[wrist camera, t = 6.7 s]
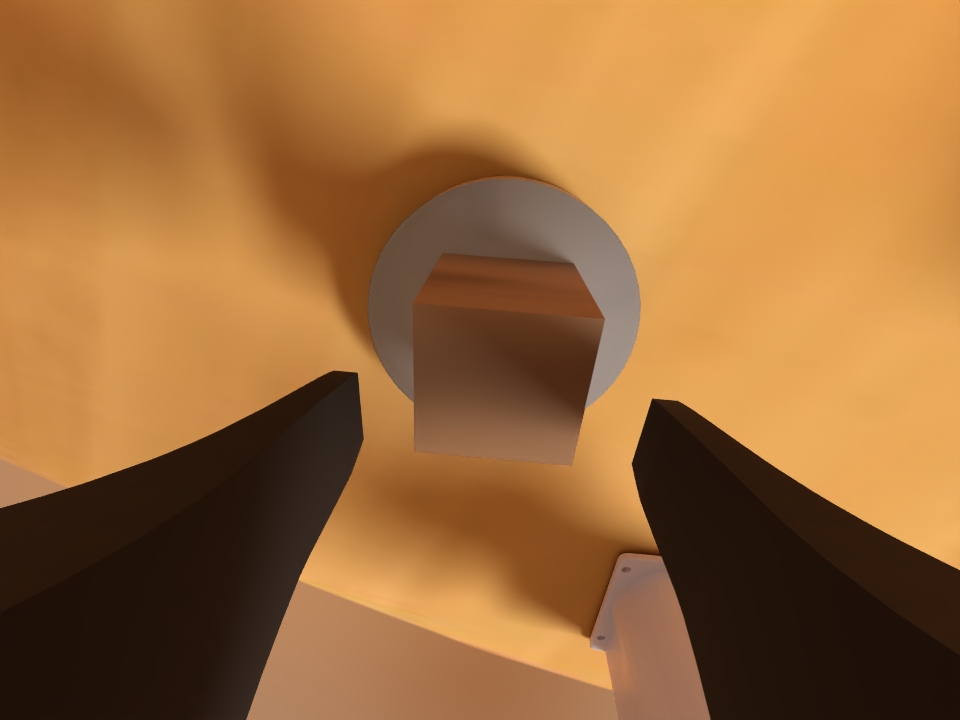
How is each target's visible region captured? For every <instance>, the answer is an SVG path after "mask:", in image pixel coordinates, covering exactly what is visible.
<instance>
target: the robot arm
mask: <svg viewBox="0 0 960 720" xmlns="http://www.w3.org/2000/svg"><path fill="white" fill-rule="evenodd" d="M362 442H363V428H362V416H361V405H360V394H359V382H358V373H354V372H343V371H331V372H329V373H327V374H325V375H323V376H321V377H319V378H317V379H315V380H314V381H312V382H310V383H308V384H306V385H305V386H303V387H301V388H299V389H297V390H296V391H294V392H292V393H290V394H288V395H287V396H285V397H283V398H281V399H279V400H278V401H276V402H274V403H272V404H270V405H269V406H267V407H265V408H263V409H261V410H259V411H257V412H255V413H253V414H251V415H249V416H247V417H245V418H243V419H241V420H239V421H237V422H235V423H233V424H231V425H229V426H227V427H225V428H223V429H222V430H220V431H217V432H215V433H213V434H211V435H209V436H207V437H204V438H202V439H200V440H198V441H195V442H193V443H191V444H188V445H186V446H184V447H181V448H179V449H176V450H174V451H172V452H169V453H167V454H164V455H162V456H159V457H157V458H154V459H152V460H149V461H146V462H143V463H140V464H138V465H135V466H132V467H129V468H126V469H124V470H121V471H118V472H115V473H112V474H109V475H107V476H104V477H101V478H98V479H95V480H92V481H90V482H87V483H84V484H81V485H77V486H74V487H71V488H68V489H65V490H61V491H58V492H55V493H52V494H48V495H45V496H42V497H38V498H35V499H31V500H28V501H25V502H21V503H18V504H14V505H10V506H7V507H3V508H0V720H246V718H247V716H248V713H249V710H250V707H251V704H252V701H253V699H254V695H255V693H256V690H257V687H258V684H259V681H260V679H261V675H262V673H263V670H264V668H265V665H266V662H267V659H268V657H269V654H270V651H271V649H272V646H273V644H274V641H275V638H276V636H277V633H278V630H279V628H280V625H281V622H282V620H283V617H284V615H285V612H286V610H287V607H288V605H289V602H290V600H291V597H292V594H293V592H294V590H295V587H296V584H297V582H298V580H299V577H300V575H301V573H302V571H303V568H304V566H305V564H306V562H307V560H308V558H309V556H310V554H311V552H312V550H313V548H314V546H315V544H316V542H317V540H318V538H319V536H320V534H321V532H322V530H323V528H324V526H325V525H326V523H327V521H328V519H329V517H330V515H331V513H332V511H333V509H334V507H335V505H336V503H337V501H338V499H339V497H340V495H341V493H342V491H343V489H344V487H345V485H346V484H347V481H348V479H349V477H350V475H351V473H352V470H353V468H354V465H355V462H356V460H357V457H358V454H359V451H360V448H361V445H362ZM632 467H633V472H634V476H635V481H636V485H637V489H638V493H639V498H640V501H641V504H642V507H643V510H644V512H645V515H646V518H647V520H648V523H649V526H650V528H651V531H652V534H653V536H654V539H655V541H656V544H657V547H658V549H659V552H660V554H661V556H655V555H645V554H634V553H624V554H621V555H620V556H619V557H618V559H617V562H616V565H615V568H614V571H613V574H612V577H611V580H610V583H609V585H608V588H607V591H606V594H605V597H604V600H603V603H602V606H601V608H600V611H599V614H598V617H597V620H596V623H595V626H594V629H593V632H592V634H591V637H590V647H591V648H592V649H594V650H601V651H605V652H606V657H607V662H608V667H609V672H610V677H611V682H612V688H613V692H614V698H615V703H616V708H617V713H618V718H619V720H960V570H958V569H956V568H954V567H952V566H950V565H948V564H946V563H944V562H942V561H940V560H938V559H936V558H934V557H932V556H930V555H928V554H926V553H924V552H922V551H920V550H918V549H916V548H914V547H912V546H910V545H908V544H906V543H904V542H902V541H900V540H898V539H896V538H894V537H892V536H891V535H889V534H887V533H885V532H883V531H881V530H879V529H877V528H876V527H874V526H872V525H870V524H868V523H867V522H865V521H863V520H861V519H859V518H858V517H856V516H854V515H852V514H851V513H849V512H847V511H845V510H844V509H842V508H840V507H838V506H837V505H835V504H833V503H831V502H830V501H828V500H826V499H825V498H823V497H821V496H820V495H818V494H816V493H815V492H813V491H811V490H810V489H808V488H807V487H805V486H803V485H802V484H800V483H799V482H797V481H796V480H794V479H793V478H791V477H789V476H788V475H786V474H785V473H783V472H782V471H780V470H778V469H777V468H775V467H774V466H773V465H771V464H770V463H768V462H767V461H765V460H764V459H762V458H761V457H759V456H758V455H756V454H755V453H753V452H752V451H750V450H749V449H748V448H746V447H745V446H743V445H742V444H740V443H739V442H738V441H736V440H735V439H733V438H732V437H731V436H729V435H728V434H726V433H725V432H724V431H722V430H721V429H719V428H718V427H717V426H715V425H714V424H712V423H711V422H709V421H708V420H707V419H705V418H704V417H702V416H701V415H699V414H698V413H696V412H695V411H694V410H692V409H690V408H689V407H687V406H686V405H684V404H682V403H681V402H679V401H673V400H661V399H652V401H651V404H650V407H649V411H648V414H647V417H646V420H645V423H644V427H643V430H642V433H641V436H640V439H639V442H638V446H637V449H636V452H635V455H634V458H633V462H632Z"/></svg>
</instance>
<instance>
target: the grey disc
mask: <svg viewBox="0 0 960 720" xmlns="http://www.w3.org/2000/svg"><path fill="white" fill-rule="evenodd" d="M442 253H450V254H463V255H475V256H488V257H500V258H512V259H525V260H537V261H550V262H562V263H574V264H575V266H576V268H577V270H578V272H579V273H580V275H581V277H582V279H583V280H584V282H585V284H586V286H587V288H588V289H589V291H590V293H591V295H592V296H593V298H594V300H595V302H596V304H597V305H598V307H599V309H600V311H601V312H602V314H603V316H604V318H605V322H604V327H603V331H602V336H601V340H600V344H599V349H598V353H597V358H596V362H595V366H594V371H593V375H592V379H591V384H590V388H589V393H588V397H587V401H586V406H585V409H586V408H587V407H588V406H590V405H591V404H593V403H594V402H595V401H596V400H597V399H598V398H599V397H600V396H602V395H603V394H604V393H605V392H606V390H607V389H608V388H609V387H610V386H611V385H612V384H613V383H614V381H615V380H616V378H617V377H618V376H619V374H620V373H621V371H622V370H623V368H624V366H625V364H626V362H627V360H628V358H629V356H630V354H631V352H632V349H633V346H634V343H635V340H636V337H637V332H638V327H639V322H640V305H641V304H640V293H639V285H638V281H637V277H636V273H635V269H634V267H633V264H632V262H631V260H630V257H629V255H628V252H627V251H626V249H625V247H624V246H623V244H622V242H621V241H620V239H619V237H618V236H617V235H616V234H615V232H614V231H613V230H612V229H611V228H610V226H609V225H608V224H607V223H606V222H605V221H604V220H603V219H602V218H601V217H600V216H599V215H598V214H596V213H595V212H594V211H593V210H592V209H591V208H589V207H588V206H587V205H585V204H584V203H583V202H582V201H580V200H579V199H577V198H576V197H574V196H572V195H571V194H569V193H568V192H566V191H564V190H562V189H560V188H558V187H556V186H554V185H551V184H549V183H546V182H542V181H539V180H536V179H532V178H525V177H519V176H491V177H484V178H477V179H474V180H471V181H467V182H464V183H460V184H458V185H456V186H454V187H451V188H449V189H447V190H445V191H443V192H442V193H440V194H438V195H437V196H435V197H434V198H432V199H431V200H429V201H428V202H426V203H425V204H423V205H422V206H421V207H419V208H418V209H417V210H416V211H415V212H413V213H412V214H411V215H410V216H409V217H408V218H406V219H405V220H404V221H403V222H402V224H401V225H400V226H399V227H398V228H397V229H396V230H395V232H394V233H393V234H392V235H391V237H390V238H389V240H388V242H387V243H386V245H385V246H384V248H383V249H382V251H381V254H380V256H379V258H378V260H377V263H376V265H375V268H374V271H373V274H372V278H371V281H370V287H369V294H368V320H369V327H370V333H371V337H372V340H373V344H374V347H375V350H376V352H377V354H378V357H379V359H380V361H381V363H382V365H383V366H384V368H385V370H386V372H387V373H388V375H389V376H390V377H391V379H392V380H393V381H394V383H395V384H396V385H397V387H398V388H399V389H400V390H401V391H402V392H403V393H404V394H405V395H406V396H407V397H408V398H409V399H410V400H412V401H413V402H414V371H413V302H414V300H415V298H416V296H417V295H418V293H419V291H420V290H421V288H422V286H423V285H424V283H425V281H426V280H427V278H428V276H429V275H430V273H431V271H432V270H433V268H434V266H435V265H436V263H437V261H438V260H439V258H440V256H441V255H442Z"/></svg>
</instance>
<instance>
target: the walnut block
mask: <svg viewBox="0 0 960 720" xmlns="http://www.w3.org/2000/svg"><path fill="white" fill-rule="evenodd" d="M604 322H605V318H604V316H603V314H602V312H601V311H600V309H599V307H598V305H597V304H596V302H595V300H594V298H593V296H592V295H591V293H590V291H589V289H588V288H587V286H586V284H585V282H584V280H583V279H582V277H581V275H580V273H579V272H578V270H577V268H576V266H575V264H574V263H562V262H550V261H537V260H525V259H512V258H500V257H488V256H475V255H463V254H450V253H442V255H441V256H440V258H439V260H438V261H437V263H436V265H435V266H434V268H433V270H432V271H431V273H430V275H429V276H428V278H427V280H426V281H425V283H424V285H423V286H422V288H421V290H420V291H419V293H418V295H417V296H416V298H415V300H414V302H413V371H414V442H415V452H425V453H436V454H447V455H458V456H469V457H480V458H491V459H502V460H513V461H524V462H535V463H546V464H557V465H568V466H572V463H573V458H574V454H575V450H576V445H577V441H578V436H579V432H580V428H581V423H582V419H583V414H584V410H585V406H586V401H587V397H588V393H589V388H590V384H591V379H592V375H593V371H594V366H595V362H596V358H597V353H598V349H599V344H600V340H601V336H602V331H603V327H604Z"/></svg>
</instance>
